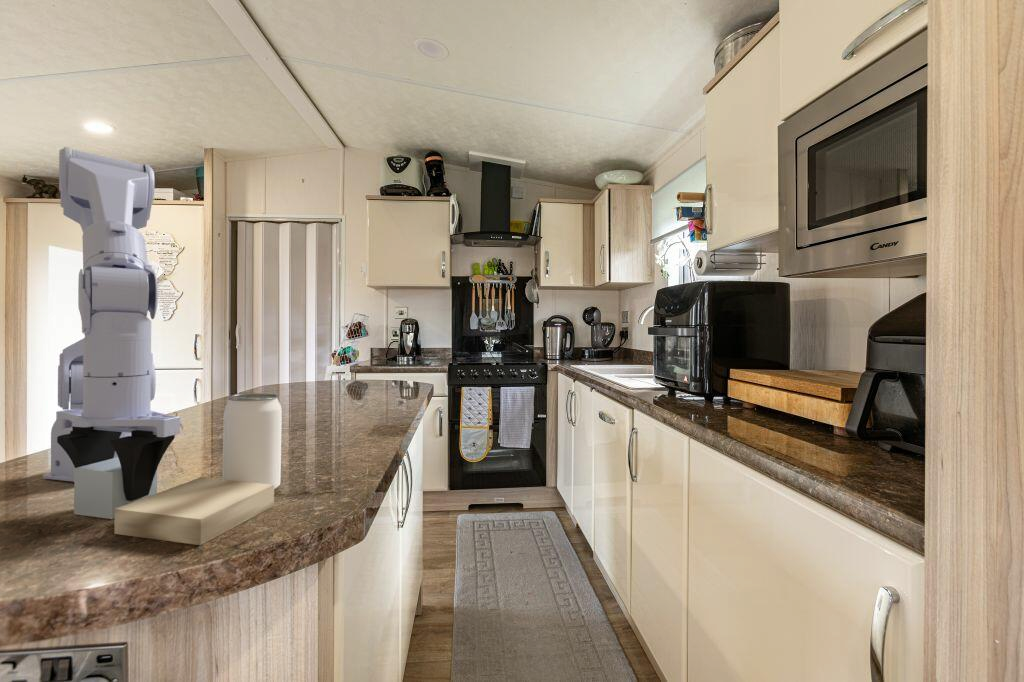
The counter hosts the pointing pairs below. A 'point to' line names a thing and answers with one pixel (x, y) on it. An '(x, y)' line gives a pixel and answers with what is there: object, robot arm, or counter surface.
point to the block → (101, 489)
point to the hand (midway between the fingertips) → (117, 495)
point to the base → (194, 510)
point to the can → (252, 439)
